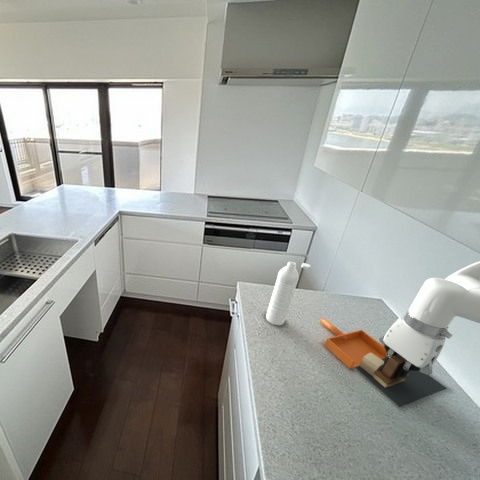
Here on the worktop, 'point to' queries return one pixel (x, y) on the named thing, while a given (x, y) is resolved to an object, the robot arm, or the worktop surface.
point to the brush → (390, 371)
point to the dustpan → (352, 345)
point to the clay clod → (371, 363)
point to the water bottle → (283, 293)
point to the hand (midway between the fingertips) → (393, 371)
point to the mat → (407, 387)
